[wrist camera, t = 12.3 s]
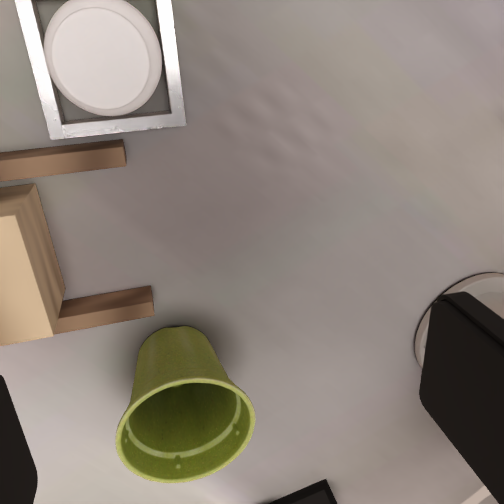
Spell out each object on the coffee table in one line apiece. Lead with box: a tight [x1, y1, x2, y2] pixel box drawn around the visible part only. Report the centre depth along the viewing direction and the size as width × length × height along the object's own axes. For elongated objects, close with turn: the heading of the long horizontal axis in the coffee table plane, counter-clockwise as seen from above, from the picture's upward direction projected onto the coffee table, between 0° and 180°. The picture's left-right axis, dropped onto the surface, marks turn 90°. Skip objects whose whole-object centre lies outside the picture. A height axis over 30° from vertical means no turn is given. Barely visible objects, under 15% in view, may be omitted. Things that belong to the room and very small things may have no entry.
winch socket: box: [15, 0, 186, 140], centre depth 24 cm, size 16×8×5 cm, turn 93°
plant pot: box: [116, 326, 255, 483], centre depth 34 cm, size 9×9×9 cm
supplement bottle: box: [44, 0, 162, 116], centre depth 23 cm, size 5×5×10 cm
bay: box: [0, 139, 155, 346], centre depth 28 cm, size 17×12×6 cm
